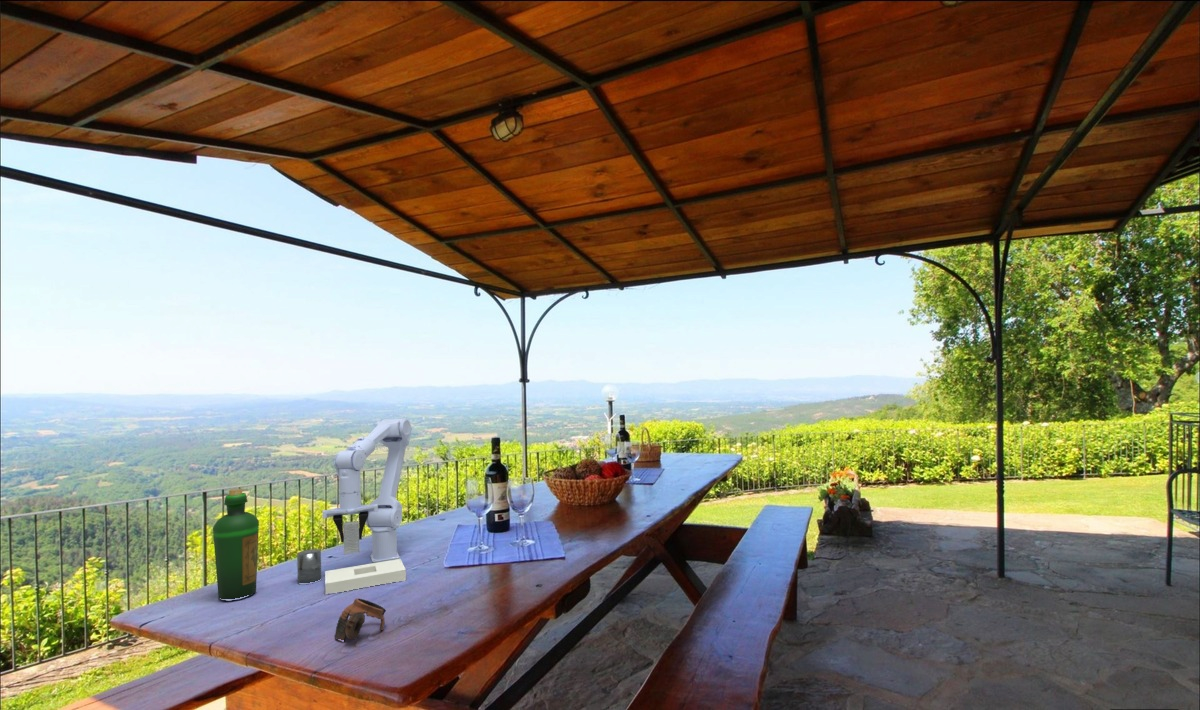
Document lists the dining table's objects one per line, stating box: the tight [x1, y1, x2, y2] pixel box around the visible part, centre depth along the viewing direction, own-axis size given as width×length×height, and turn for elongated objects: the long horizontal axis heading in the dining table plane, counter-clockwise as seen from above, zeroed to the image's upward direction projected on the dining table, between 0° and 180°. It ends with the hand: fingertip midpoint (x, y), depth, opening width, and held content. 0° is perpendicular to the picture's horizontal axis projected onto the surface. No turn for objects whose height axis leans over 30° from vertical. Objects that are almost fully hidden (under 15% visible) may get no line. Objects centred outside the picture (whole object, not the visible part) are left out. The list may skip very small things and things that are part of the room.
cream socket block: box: [324, 558, 407, 595], centre depth 161 cm, size 12×20×3 cm, turn 115°
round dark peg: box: [296, 548, 322, 584], centre depth 164 cm, size 6×6×8 cm
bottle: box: [212, 487, 260, 599], centre depth 154 cm, size 11×11×28 cm
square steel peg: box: [343, 520, 360, 555], centre depth 166 cm, size 4×4×8 cm
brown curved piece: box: [334, 597, 387, 640], centre depth 125 cm, size 12×10×8 cm
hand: (351, 540), depth 166 cm, fingers closed on square steel peg, 4 cm apart
